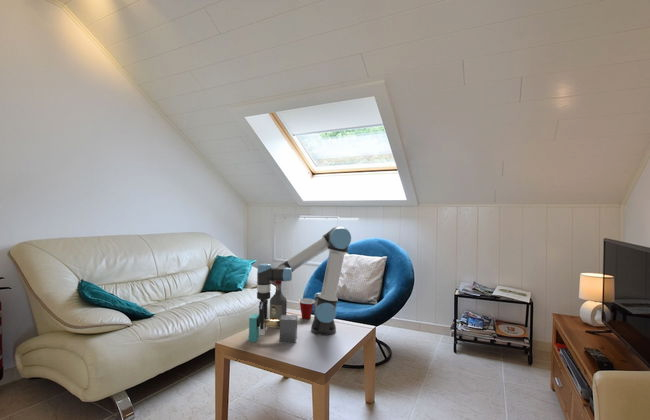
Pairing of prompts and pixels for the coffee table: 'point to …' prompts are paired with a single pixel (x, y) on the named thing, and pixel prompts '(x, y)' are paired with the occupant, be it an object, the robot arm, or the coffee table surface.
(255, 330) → the socket
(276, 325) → the brass tube
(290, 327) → the grey matte cuboid
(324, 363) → the coffee table surface
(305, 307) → the plastic cup
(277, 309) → the liquor
